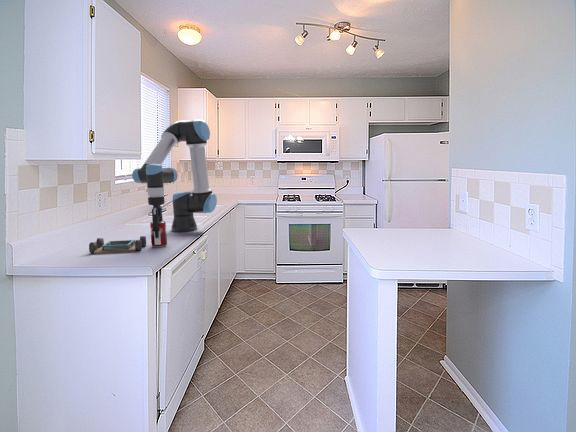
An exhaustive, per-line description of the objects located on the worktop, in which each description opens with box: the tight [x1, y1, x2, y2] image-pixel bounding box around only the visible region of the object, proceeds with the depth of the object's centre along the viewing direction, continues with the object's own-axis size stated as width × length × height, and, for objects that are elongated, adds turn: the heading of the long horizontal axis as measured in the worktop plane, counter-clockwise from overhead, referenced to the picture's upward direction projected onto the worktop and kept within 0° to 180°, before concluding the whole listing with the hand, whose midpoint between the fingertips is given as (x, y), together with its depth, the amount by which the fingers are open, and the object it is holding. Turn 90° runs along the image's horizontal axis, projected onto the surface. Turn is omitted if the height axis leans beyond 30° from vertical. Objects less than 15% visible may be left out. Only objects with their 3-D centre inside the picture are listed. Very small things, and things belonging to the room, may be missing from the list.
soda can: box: [149, 220, 168, 248], centre depth 192 cm, size 7×7×12 cm
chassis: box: [88, 235, 147, 255], centre depth 187 cm, size 16×22×5 cm
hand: (159, 242), depth 193 cm, fingers closed on soda can, 7 cm apart
